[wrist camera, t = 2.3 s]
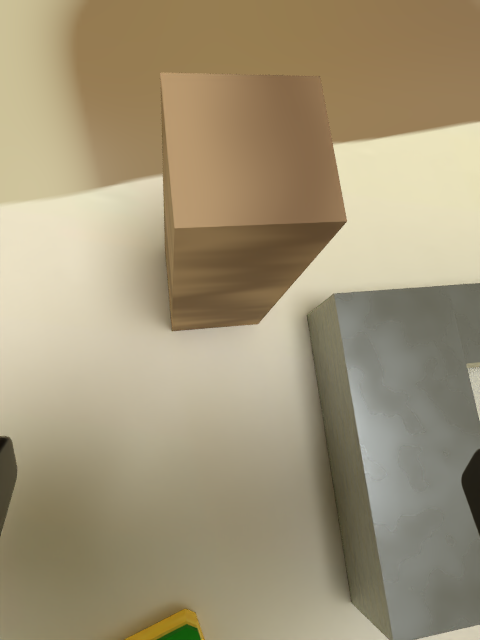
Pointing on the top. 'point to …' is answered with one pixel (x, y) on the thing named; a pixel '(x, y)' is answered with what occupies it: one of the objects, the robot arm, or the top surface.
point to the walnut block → (243, 192)
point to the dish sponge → (173, 628)
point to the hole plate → (403, 450)
